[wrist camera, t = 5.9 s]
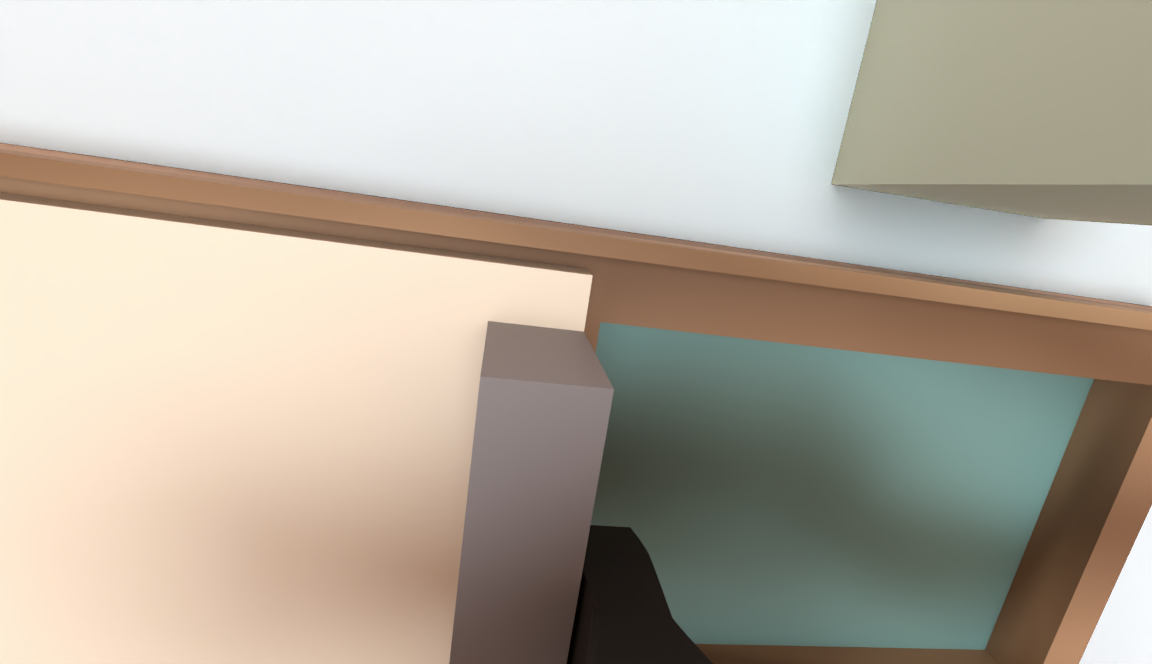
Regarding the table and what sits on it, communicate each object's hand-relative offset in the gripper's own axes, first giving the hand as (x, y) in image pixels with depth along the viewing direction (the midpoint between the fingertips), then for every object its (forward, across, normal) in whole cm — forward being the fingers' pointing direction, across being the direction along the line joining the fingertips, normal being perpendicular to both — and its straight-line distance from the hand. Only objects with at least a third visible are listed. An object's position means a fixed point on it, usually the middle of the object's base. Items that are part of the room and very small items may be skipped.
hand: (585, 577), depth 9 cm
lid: (+1, +7, 0) cm, 7 cm away
